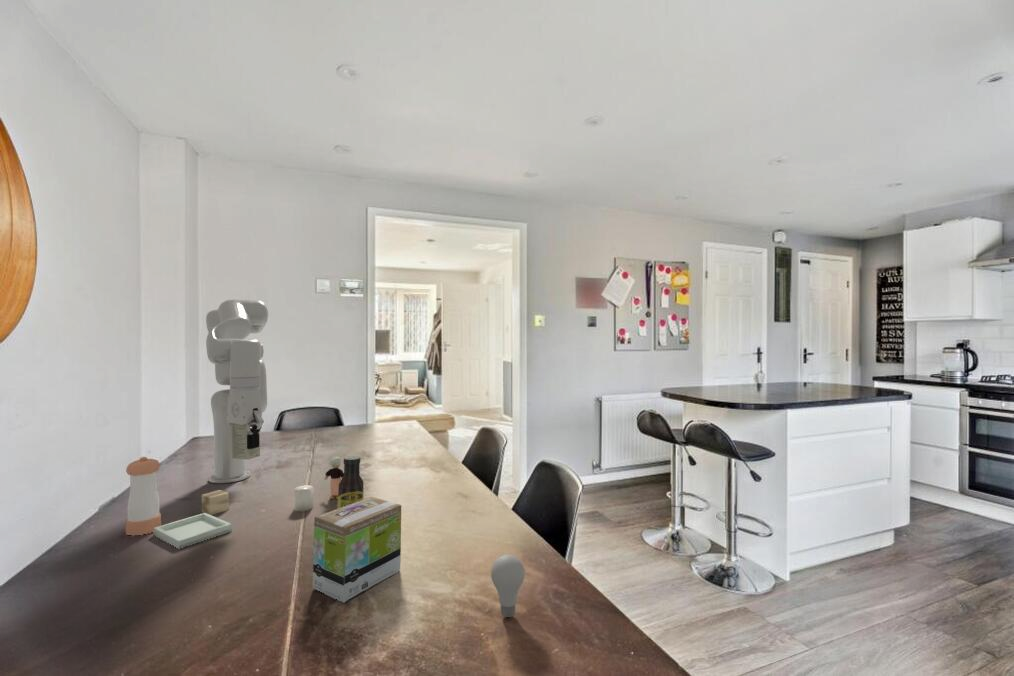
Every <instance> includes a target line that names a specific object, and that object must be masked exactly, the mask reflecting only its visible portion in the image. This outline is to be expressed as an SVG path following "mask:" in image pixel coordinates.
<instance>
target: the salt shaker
mask: <svg viewBox="0 0 1014 676" xmlns="http://www.w3.org/2000/svg"><path fill="white" fill-rule="evenodd" d="M160 468H161V464H160V462H159V460H157V459H153V458H147V456H141V457H139V459H137V460H134V461H132V462H130V463H129V464H128V465H127V467H126V469H125V470H126V474H127V475H128V476H129V477H130V478H129V486H130V487H129V489H130V490H129V495H128V502H127V505H126V506H127V508H126V509H127V510H126V511H127V518H126V519H125V535H126V534H127V535H141V534H146V535H148V534H147V533H149V534H152V533H151V532H153V531H154V528H155V527H158V526H162V514H161V512H160V497H159V493H158V488H157V487H158V486H157V485H158V484H157V483H158V481H157V472H158V471H159V470H160ZM153 533H154V532H153ZM127 535H126V536H127ZM141 536H142V535H141Z"/></svg>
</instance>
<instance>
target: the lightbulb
mask: <svg viewBox="0 0 1014 676" xmlns="http://www.w3.org/2000/svg"><path fill="white" fill-rule="evenodd" d="M525 571H526V570H525V567H524V564H523V562H522V561H521V560H520V558H518V557H517V556H515V555H513V554H504V555H501V556H499V557H497V558H496V560H495V561H494V562H493V564H492V567H491V569H490V577H491V582H492V583H493V586H494V587H495V589H496V591H497V594H498V602H499V604H500V614H501V616H502V617H504V618H506V617H510V618H512V617H513V616H515V613H516V604H517V601H518V600H517V599H518V594H519V591H520V589H521V587H522V585H523V583H524V581H525V576H526V573H525Z"/></svg>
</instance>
